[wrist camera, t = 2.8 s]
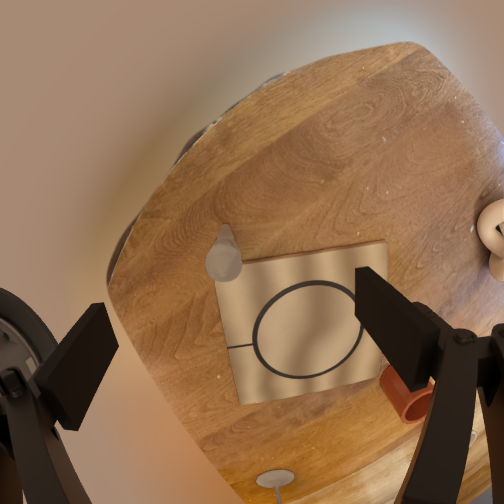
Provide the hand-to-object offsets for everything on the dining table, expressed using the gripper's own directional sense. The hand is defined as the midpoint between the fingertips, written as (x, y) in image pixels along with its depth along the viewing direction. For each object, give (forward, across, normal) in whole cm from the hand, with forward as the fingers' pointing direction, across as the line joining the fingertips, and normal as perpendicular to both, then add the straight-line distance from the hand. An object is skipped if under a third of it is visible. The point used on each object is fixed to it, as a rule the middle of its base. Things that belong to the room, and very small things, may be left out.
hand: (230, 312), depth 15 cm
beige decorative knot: (+19, +38, -5) cm, 42 cm away
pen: (+18, 0, 0) cm, 18 cm away
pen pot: (+18, +22, -25) cm, 38 cm away
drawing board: (+18, +8, -14) cm, 24 cm away
